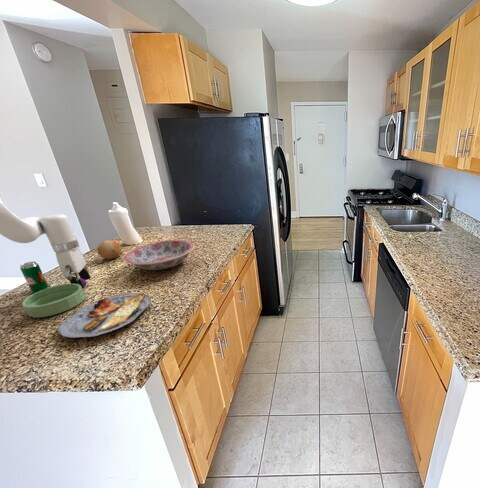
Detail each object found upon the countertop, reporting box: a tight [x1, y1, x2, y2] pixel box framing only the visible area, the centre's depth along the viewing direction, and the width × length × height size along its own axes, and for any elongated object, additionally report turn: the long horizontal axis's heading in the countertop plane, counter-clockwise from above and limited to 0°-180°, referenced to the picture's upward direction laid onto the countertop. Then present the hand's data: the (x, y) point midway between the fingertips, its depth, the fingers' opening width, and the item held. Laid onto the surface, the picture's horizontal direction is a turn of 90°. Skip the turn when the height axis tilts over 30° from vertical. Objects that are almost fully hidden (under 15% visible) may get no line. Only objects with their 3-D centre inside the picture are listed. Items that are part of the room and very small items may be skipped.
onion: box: [97, 239, 123, 260], centre depth 135 cm, size 10×10×10 cm
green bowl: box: [21, 283, 86, 318], centre depth 97 cm, size 16×16×5 cm
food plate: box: [57, 292, 152, 339], centre depth 90 cm, size 25×23×4 cm
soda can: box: [19, 261, 49, 293], centre depth 106 cm, size 5×5×12 cm
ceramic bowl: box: [124, 239, 195, 271], centre depth 127 cm, size 29×29×8 cm
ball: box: [79, 277, 87, 287], centre depth 109 cm, size 4×4×4 cm
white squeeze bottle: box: [107, 202, 144, 246], centre depth 152 cm, size 12×11×25 cm
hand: (82, 283), depth 110 cm, fingers open, 7 cm apart
